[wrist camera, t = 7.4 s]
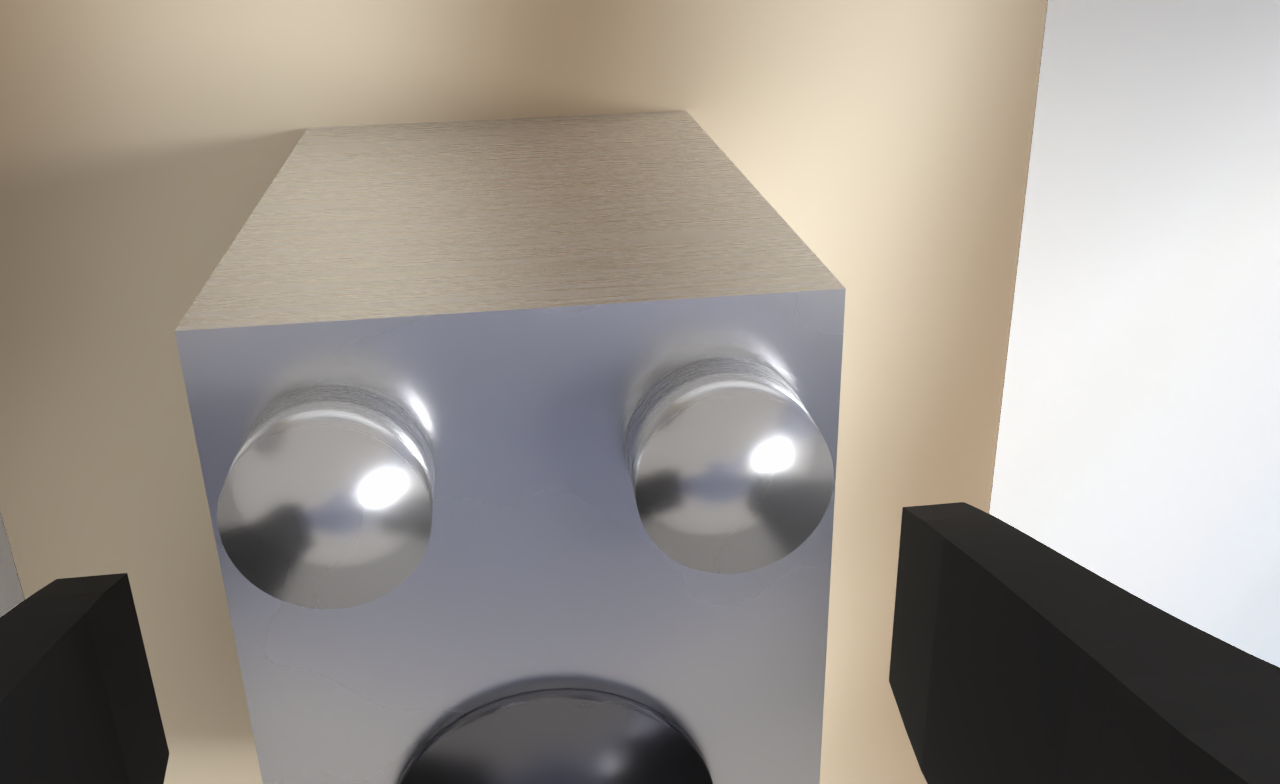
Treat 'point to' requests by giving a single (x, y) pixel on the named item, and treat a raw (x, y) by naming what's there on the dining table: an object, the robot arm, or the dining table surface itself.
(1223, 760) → the robot arm
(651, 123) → the block
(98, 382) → the stand
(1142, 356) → the dining table surface
